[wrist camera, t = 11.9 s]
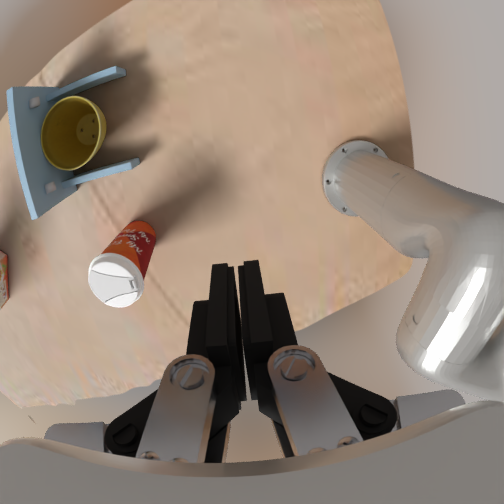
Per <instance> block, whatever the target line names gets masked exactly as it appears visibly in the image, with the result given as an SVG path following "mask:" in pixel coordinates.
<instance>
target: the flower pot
mask: <svg viewBox="0 0 504 504" xmlns="http://www.w3.org/2000/svg"><path fill="white" fill-rule="evenodd" d="M93 120H94V123H93ZM82 129H83V132H81V130H82ZM93 135H94V136H95V137H94V138H93ZM105 135H106V120H105V117H104V114H103V113H102V111H101V110H100V108H99V107H98V106H97V105H96V104H95V103H93V102H92V101H90V100H88V99H86V98H84V97H80V96H69V97H66V98H63V99H61V100H60V101H58V102H57V103H56V104H54V105H53V106H52V108H51V109H50V110H49V111H48V113H47V115H46V117H45V119H44V121H43V124H42V128H41V146H42V150H43V152H44V155H45V157H46V158H47V160H48V161H49V162H50V163H51V164H52V165H53V166H54V167H56V168H58V169H61V170H66V171H69V170H75V169H78V168H80V167H82V166H83V165H85V164H86V163H87V162H88V161H89V160H91V159H92V158H93V156H94V155H95V154H96V153H97V152H98V150H99V149H100V147H101V145H102V143H103V141H104V138H105Z"/></svg>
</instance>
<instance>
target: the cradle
mask: <svg viewBox="0 0 504 504" xmlns="http://www.w3.org/2000/svg"><path fill="white" fill-rule="evenodd" d="M123 76H126V70H125V69H123V68H120V67H118V66H114V67H111V68H108V69H105V70H103V71H100V72H97V73H95V74H92V75H90V76H87V77H85V78H82V79H80V80H78V81H75V82H73V83H71V84H69V85H67V86H64V87H62V88H60V89H59V87H12V88H10V89H9V90H7V103H8V114H9V123H10V130H11V137H12V143H13V149H14V154H15V159H16V164H17V168H18V173H19V177H20V181H21V185H22V188H23V192H24V196H25V199H26V202H27V206H28V209H29V212H30V215H31V218H32V220H34V219H37V218H39V217H40V216H41V215H43V214H44V213H45V212H47V211H48V210H50V209H51V208H52V207H54V206H55V205H56V204H58V203H59V202H61V201H62V200H64V199H65V198H67V197H68V196H69V195H71V194H72V193H74V192H75V191H77V187H76V184H80V183H83V182H86V181H90V180H93V179H97V178H100V177H104V176H107V175H111V174H115V173H119V172H123V171H127V170H131V169H133V168H134V167H136V166H137V165H139V164H140V161H139V157H138V158H134V159H130V160H126V161H122V162H119V163H115V164H111V165H108V166H104V167H101V168H97V169H94V170H91V171H87V172H84V173H81V174H78V175H75V176H74V175H73V171H72V170H69V171H66V170H61V169H58V168H56V167H54V166H53V165H52V164H51V163H50V162H49V161H48V160H47V158H46V157H45V155H44V152H43V150H42V146H41V128H42V124H43V121H44V119H45V117H46V115H47V113H48V111H49V110H50V109H51V108H52V106H53V105H54V104H56V103H57V102H58V101H60V100H61V99H63V98H66V97H69V96H72V95H75V94H77V93H79V92H82V91H84V90H87V89H89V88H92V87H94V86H97V85H100V84H102V83H105V82H108V81H111V80H114V79H117V78H120V77H123Z"/></svg>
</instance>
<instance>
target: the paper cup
mask: <svg viewBox="0 0 504 504" xmlns="http://www.w3.org/2000/svg"><path fill="white" fill-rule="evenodd" d="M155 242H156V234H155V231H154V229H153V228H152V227H151V226H150V225H149V224H148V223H146V222H144V221H134V222H131V223H130V224H128V225H127V226H126V227H125V228H124V229H123V230H122V231H121V232H120V233H119V235H118V236H117V237H116V238H115V239H114V240H113V241H112V242H111V243H110V244H109V246H108V247H107V248H106V249H105V250H104V251H103V252H102V254H101V255H98V256H97V257H95V258H94V259H93V261H92V262H91V264H90V266H89V276H88V282H89V285H90V287H91V289H92V291H93V293H94V294H95V295H96V297H97V298H99V299H100V300H101V301H102V302H103V303H105V304H107V305H109V306H112V307H119V308H121V307H126V306H129V305H131V304H132V303H134V302H135V301H136V300H138V299H139V298H140V297H141V295H142V293H143V290H144V278H145V275H146V271H147V268H148V265H149V262H150V259H151V255H152V252H153V249H154V246H155Z"/></svg>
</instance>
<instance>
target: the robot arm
mask: <svg viewBox="0 0 504 504" xmlns="http://www.w3.org/2000/svg"><path fill="white" fill-rule="evenodd" d="M342 149H344V151H342ZM373 149H374V151H373ZM327 180H328V182H326V181H327ZM322 185H323V190H324V193H325V196H326V198H327V199H328V201H329V203H330V204H331V205H332V206H333V207H334V208H335V209H336V210H338V211H339V212H341V213H342V214H345V215H348V216H359V217H360V218H361V219H363V220H364V221H365V222H366V223H367V224H368V225H369V226H370V227H371V228H373V229H374V230H375V231H376V232H377V233H378V234H379V235H380V236H381V237H382V238H383V239H385V240H386V241H387V242H388V243H389V244H390V245H391V246H392V247H393V248H394V249H395V250H397V251H398V252H399V253H401V254H403V255H405V256H408V257H411V258H428V261H427V264H426V267H425V269H424V271H423V274H422V277H421V280H420V282H419V284H418V286H417V288H416V291H415V293H414V295H413V297H412V299H411V301H410V303H409V305H408V307H407V309H406V311H405V313H404V315H403V317H402V320H401V322H400V324H399V327H398V330H397V334H396V345H397V349H398V352H399V354H400V356H401V358H402V359H403V361H404V362H405V363H406V364H407V366H408V367H410V368H411V369H412V370H413V371H414V372H416V373H417V374H419V375H421V376H422V377H424V378H426V379H428V380H430V381H433V382H435V383H438V384H440V385H443V386H446V387H449V388H452V389H455V390H458V391H461V392H464V393H467V394H470V395H473V396H476V397H479V398H482V399H486V400H489V401H478V402H472V403H468V404H465V401H464V399H463V397H462V396H461V395H460V394H459V393H458V392H456V391H454V390H441V391H435V392H429V393H422V394H415V395H407V396H399V397H396V399H395V400H388V399H386V398H384V397H382V396H380V395H378V394H375V393H373V392H371V391H368V390H366V389H364V388H361V387H359V386H357V385H355V384H352V383H350V382H348V381H345V380H344V379H341V378H339V377H337V376H335V375H333V374H331V373H328V372H327V371H326V369H325V367H324V365H323V363H322V362H321V360H320V358H319V356H318V355H317V354H316V353H315V352H314V351H313V350H311V349H310V348H307V347H304V346H299V345H298V344H297V340H296V336H295V332H294V329H293V325H292V321H291V318H290V314H289V310H288V307H287V303H286V299H285V296H284V293H275V294H266V295H265V294H264V288H263V283H262V277H261V272H260V266H259V261H258V260H253V261H244V265H242V266H238V274H239V292H240V309H241V318H240V311H239V304H238V296H237V289H236V281H235V274H234V267H233V266H232V267H228V264H227V263H223V264H213V265H212V272H211V283H210V293H209V300H203V301H195V302H194V304H193V310H192V317H191V323H190V330H189V337H188V345H187V352H186V355H184V356H180V357H178V358H176V359H175V360H173V361H172V362H171V363H170V364H169V365H168V366H167V368H166V370H165V371H164V374H163V377H162V380H161V383H160V386H159V388H158V389H157V390H156V391H155V392H153V393H152V394H150V395H149V396H148V397H146V398H145V399H143V400H142V401H141V402H139V403H138V404H136V405H135V406H133V407H132V408H130V409H129V410H128V411H126V412H125V413H123V414H122V415H120V416H119V417H117V418H116V419H114V420H113V421H112V422H111V423H110V424H105V423H104V422H92V423H63V424H62V423H59V424H54V425H52V426H51V427H49V429H48V430H47V431H46V433H45V437H44V439H42V438H34V437H26V438H25V437H23V438H15V439H11V440H8V441H5V442H3V443H2V444H0V504H504V203H501V202H499V201H497V200H494V199H491V198H488V197H485V196H481V195H478V194H475V193H472V192H468V191H466V190H463V189H460V188H457V187H454V186H452V185H450V184H447V183H445V182H442V181H440V180H438V179H435V178H433V177H431V176H428V175H426V174H424V173H422V172H419V171H417V170H415V169H412V168H410V167H407V166H405V165H403V164H400V163H398V162H395V161H392V160H390V159H388V157H387V155H386V154H385V153H384V151H383V150H382V149H381V148H380V147H378V146H377V145H375V144H373V143H371V142H368V141H363V140H353V141H348V142H346V143H344V144H342V145H340V146H339V147H337V148H336V149H335V150H334V151H333V152H332V153H331V154H330V156H329V158H328V159H327V161H326V163H325V166H324V169H323V174H322ZM343 207H344V208H343ZM241 325H242V326H241ZM242 339H243V341H242ZM243 348H244V355H245V361H246V368H247V375H248V381H249V387H250V393H251V399H252V400H258V405H259V411H260V412H261V413H263V414H265V415H266V416H268V417H269V418H271V423H272V426H273V429H274V432H275V435H276V438H277V441H278V444H279V447H280V449H281V453H282V456H283V458H281V459H273V460H264V461H253V462H237V463H226V457H227V449H228V443H229V436H230V428H231V420H232V419H233V418H234V417H235V416H236V415H237V414H238V413H239V410H241V401H246V400H247V398H246V384H245V371H244V356H243Z"/></svg>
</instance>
